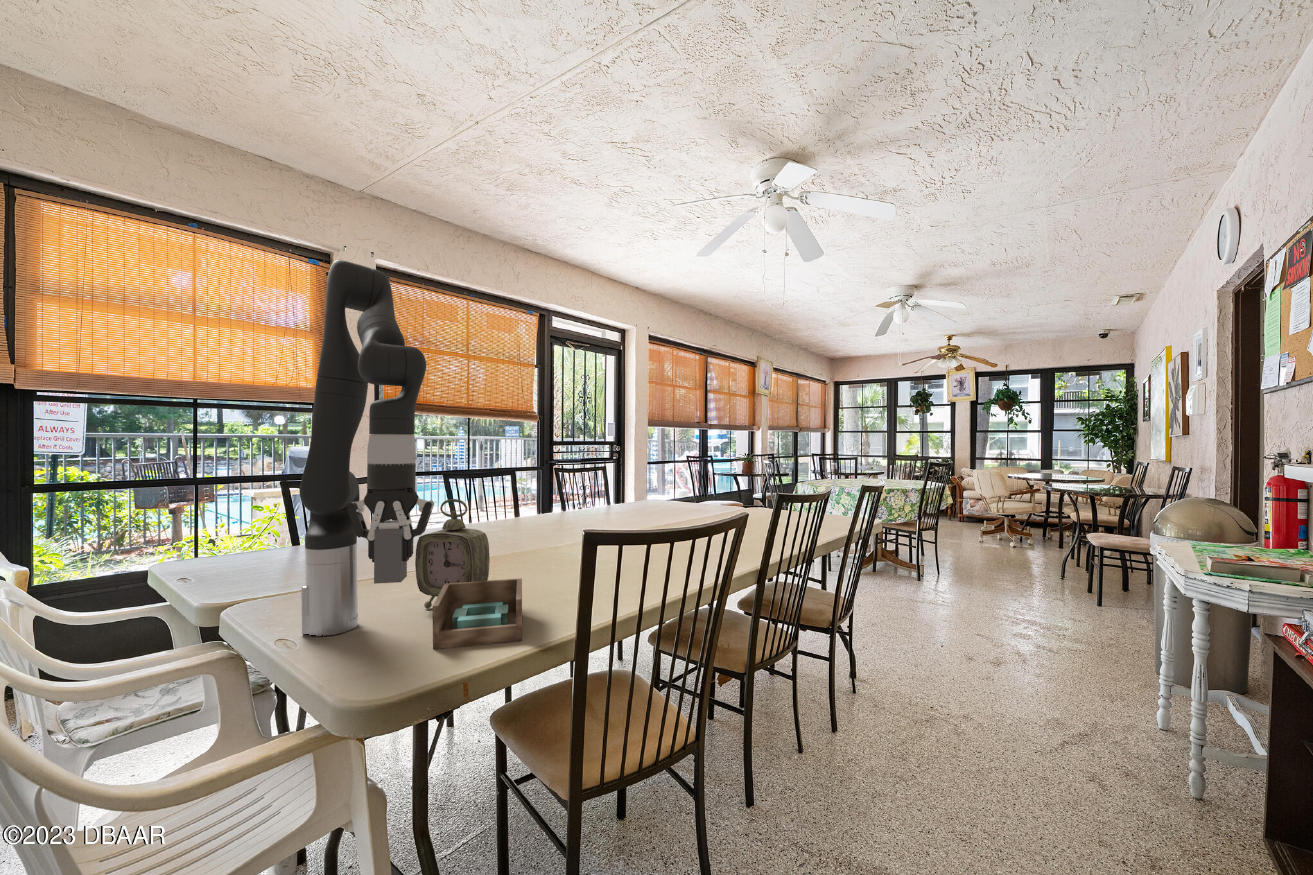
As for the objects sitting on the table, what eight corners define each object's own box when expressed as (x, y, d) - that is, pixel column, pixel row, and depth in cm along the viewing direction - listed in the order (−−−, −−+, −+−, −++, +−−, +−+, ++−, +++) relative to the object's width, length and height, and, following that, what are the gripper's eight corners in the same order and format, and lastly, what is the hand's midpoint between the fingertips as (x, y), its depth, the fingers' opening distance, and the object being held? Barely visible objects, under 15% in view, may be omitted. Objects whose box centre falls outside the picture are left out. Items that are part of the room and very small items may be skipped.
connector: (374, 583, 92) (374, 523, 92) (380, 577, 96) (381, 520, 96) (401, 582, 93) (401, 523, 93) (406, 576, 97) (407, 519, 97)
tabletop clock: (415, 610, 125) (414, 500, 124) (440, 599, 133) (439, 496, 133) (472, 615, 121) (471, 501, 121) (494, 602, 130) (493, 497, 130)
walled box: (432, 649, 102) (432, 606, 102) (445, 620, 117) (444, 583, 117) (521, 640, 105) (521, 599, 105) (522, 614, 121) (521, 578, 121)
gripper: (338, 462, 89) (337, 567, 89) (432, 461, 92) (431, 564, 92) (353, 460, 96) (352, 557, 96) (439, 460, 99) (439, 554, 99)
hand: (391, 560), depth 94 cm, fingers closed on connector, 4 cm apart
